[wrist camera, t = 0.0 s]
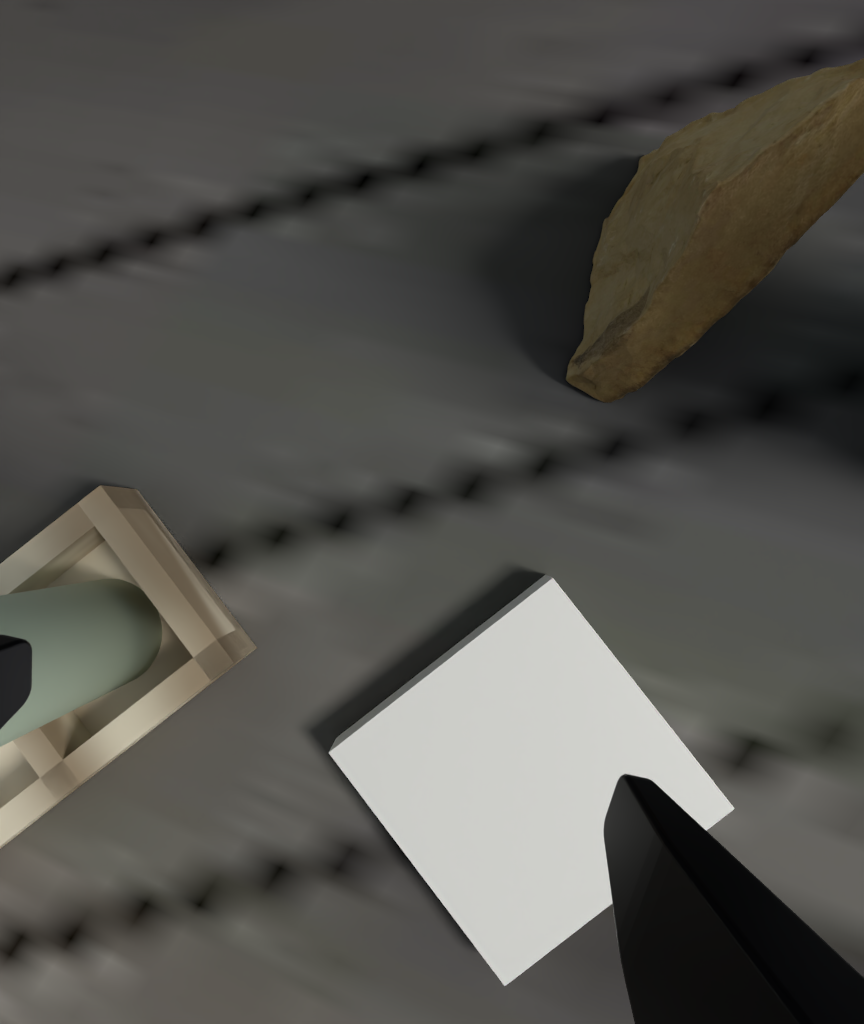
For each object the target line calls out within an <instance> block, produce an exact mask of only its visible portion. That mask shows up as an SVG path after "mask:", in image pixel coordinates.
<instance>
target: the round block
mask: <svg viewBox="0 0 864 1024" xmlns="http://www.w3.org/2000/svg"><path fill="white" fill-rule="evenodd" d="M0 634H1V635H8V636H12V637H17V638H21V639H25V640H27V641H28V642H29V643H30V644H31V647H32V689H31V692H30V695H29V697H28V699H27V701H26V702H25V704H24V705H23V706H22V707H21V708H20V709H19V710H18V711H17V713H16V714H15V715H14V716H13V717H12V718H11V719H10V720H9V721H8V722H7V723H6V724H5V725H4V726H3V727H2V728H1V729H0V747H1V746H3V745H5V744H7V743H9V742H11V741H13V740H15V739H17V738H19V737H21V736H23V735H25V734H27V733H29V732H31V731H33V730H35V729H37V728H39V727H41V726H43V725H45V724H47V723H49V722H51V721H53V720H55V719H57V718H59V717H61V716H63V715H65V714H67V713H69V712H71V711H73V710H75V709H77V708H79V707H81V706H83V705H85V704H87V703H89V702H91V701H93V700H95V699H97V698H99V697H101V696H103V695H105V694H107V693H109V692H111V691H113V690H115V689H117V688H119V687H121V686H123V685H125V684H127V683H129V682H131V681H133V680H135V679H137V678H138V677H140V676H141V675H142V674H143V673H144V672H146V671H147V670H148V668H149V667H150V666H151V665H152V663H153V662H154V660H155V658H156V656H157V654H158V652H159V649H160V646H161V641H162V623H161V618H160V615H159V612H158V610H157V608H156V607H155V606H154V604H153V603H152V602H151V600H150V599H149V598H148V596H147V595H146V594H145V592H144V591H143V590H142V589H140V588H139V587H137V586H136V585H134V584H132V583H130V582H127V581H124V580H119V579H101V580H95V581H88V582H82V583H76V584H70V585H63V586H57V587H51V588H45V589H38V590H32V591H26V592H20V593H13V594H7V595H1V596H0Z"/></svg>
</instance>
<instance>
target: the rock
mask: <svg viewBox="0 0 864 1024" xmlns="http://www.w3.org/2000/svg"><path fill="white" fill-rule="evenodd" d="M863 173H864V58H863V59H861V60H859V61H857V62H854V63H852V64H848V65H844V66H839V67H834V68H823V69H820V70H818V71H816V72H814V73H813V74H811V75H809V76H804V77H798V78H793V79H790V80H787V81H785V82H783V83H781V84H778V85H776V86H775V87H773V88H771V89H769V90H767V91H765V92H764V93H761V94H759V95H756V96H753V97H750V98H748V99H746V100H744V101H743V102H741V103H740V104H738V105H737V106H736V107H735V108H733V109H729V110H727V111H725V112H723V113H710V114H708V115H707V116H705V117H703V118H701V119H699V120H696V121H693V122H691V123H690V124H688V125H687V126H686V127H684V128H683V129H681V130H679V131H678V132H676V133H674V134H672V135H670V136H668V137H667V138H666V139H665V140H664V142H663V143H662V145H661V146H660V148H659V149H658V150H653V151H652V152H651V153H649V154H647V155H645V156H642V157H641V158H640V160H639V167H638V171H637V173H636V175H635V176H634V177H633V179H632V180H631V182H630V184H629V185H628V187H627V188H626V190H625V193H624V195H623V196H622V197H621V198H620V199H619V200H618V202H617V203H616V204H615V206H614V208H613V210H612V212H611V214H610V216H609V217H608V218H605V220H604V222H603V228H602V232H601V237H600V240H599V243H598V246H597V249H596V251H595V253H594V257H593V269H592V272H591V277H590V282H591V286H592V287H591V290H590V294H589V300H588V302H587V303H586V305H585V313H584V337H583V340H582V342H581V344H580V345H579V347H578V348H577V350H576V352H575V354H574V356H573V357H572V358H571V360H570V362H569V365H568V368H567V370H568V371H567V377H566V380H567V382H568V383H570V384H571V385H573V386H575V387H577V388H578V389H580V390H582V391H584V392H586V393H587V394H589V395H590V396H592V397H593V398H595V399H598V400H600V401H602V402H612V401H614V400H618V399H621V398H623V397H624V396H625V394H627V393H629V392H635V391H637V390H638V389H639V388H641V387H643V386H644V385H645V384H646V383H647V382H648V381H649V380H650V379H652V378H653V377H654V376H655V375H656V374H657V373H658V372H659V371H661V370H662V369H663V368H665V367H666V366H667V365H668V364H669V363H670V362H671V361H672V360H673V359H675V358H677V357H679V356H681V355H682V354H683V353H684V352H686V351H687V350H688V349H689V348H690V347H691V346H692V345H694V344H695V343H696V342H697V341H698V340H699V339H700V338H701V337H702V336H703V334H704V333H705V332H706V331H707V330H708V329H709V328H710V327H711V326H712V325H713V324H714V323H715V322H717V321H718V320H719V319H720V318H722V317H724V316H725V315H726V314H727V313H728V312H729V311H730V310H731V309H732V308H733V307H734V306H735V305H736V304H737V303H738V302H739V301H740V300H741V299H742V298H743V297H744V296H746V295H747V294H748V293H749V292H750V291H751V290H752V289H753V288H754V287H756V286H757V285H758V284H759V283H760V282H761V281H762V280H763V279H764V278H765V277H766V276H767V275H768V274H769V273H770V272H771V271H772V270H773V268H774V267H775V266H776V264H777V263H778V261H779V260H780V259H781V257H782V256H783V255H784V253H785V252H786V250H788V249H789V248H790V247H791V246H793V245H794V244H795V243H796V242H797V241H798V240H799V239H800V238H801V237H802V236H803V234H804V233H805V232H806V231H807V230H808V229H809V228H810V227H811V226H812V225H813V224H814V223H815V222H816V221H817V220H818V219H819V218H820V217H821V216H822V215H823V214H824V213H825V212H827V211H828V210H829V209H830V208H831V207H832V206H833V205H834V204H835V203H836V202H837V201H838V200H839V199H840V198H841V196H842V195H843V194H844V193H845V192H846V191H847V190H848V189H849V188H850V187H851V186H852V185H853V184H854V182H855V181H856V180H857V179H858V178H859V177H860V176H861V175H862V174H863Z"/></svg>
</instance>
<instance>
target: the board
mask: <svg viewBox="0 0 864 1024" xmlns="http://www.w3.org/2000/svg"><path fill="white" fill-rule="evenodd" d="M329 754H330V755H331V757H332V758H333V759H334V761H335V762H336V763H337V765H338V766H339V767H340V769H341V770H342V771H343V773H344V774H345V775H346V777H347V778H348V779H349V781H350V782H351V783H352V785H353V786H354V787H355V789H356V790H357V791H358V793H359V794H360V795H361V796H362V798H363V799H364V800H365V802H366V803H367V804H368V806H369V807H370V808H371V810H372V811H373V812H374V814H375V815H376V816H377V818H378V819H379V820H380V822H381V823H382V824H383V826H384V827H385V828H386V830H387V831H388V832H389V834H390V835H391V836H392V838H393V839H394V840H395V841H396V843H397V844H398V845H399V847H400V848H401V849H402V851H403V852H404V853H405V855H406V856H407V857H408V859H409V860H410V861H411V863H412V864H413V865H414V867H415V868H416V869H417V871H418V872H419V873H420V875H421V876H422V877H423V879H424V880H425V881H426V882H427V884H428V885H429V886H430V888H431V889H432V890H433V892H434V893H435V894H436V896H437V897H438V898H439V900H440V901H441V902H442V904H443V905H444V906H445V908H446V909H447V910H448V912H449V913H450V914H451V916H452V917H453V918H454V920H455V921H456V922H457V924H458V925H459V926H460V927H461V929H462V930H463V931H464V933H465V934H466V935H467V937H468V938H469V939H470V941H471V942H472V943H473V945H474V946H475V947H476V949H477V950H478V951H479V953H480V954H481V955H482V957H483V958H484V959H485V961H486V962H487V963H488V965H489V966H490V967H491V969H492V970H493V971H494V972H495V974H496V975H497V976H498V978H499V979H500V980H501V982H502V983H503V984H504V986H506V985H507V984H508V983H510V982H511V981H512V980H514V979H515V978H516V977H517V976H519V975H520V974H521V973H523V972H524V971H525V970H526V969H528V968H529V967H530V966H532V965H533V964H534V963H536V962H537V961H538V960H539V959H541V958H542V957H543V956H545V955H546V954H547V953H548V952H550V951H551V950H552V949H554V948H555V947H556V946H558V945H559V944H560V943H561V942H563V941H564V940H565V939H567V938H568V937H569V936H570V935H572V934H573V933H574V932H576V931H577V930H578V929H580V928H581V927H582V926H583V925H585V924H586V923H587V922H589V921H590V920H591V919H592V918H594V917H595V916H596V915H598V914H599V913H600V912H602V911H603V910H604V909H605V908H607V907H608V906H609V905H611V904H612V895H611V888H610V881H609V873H608V866H607V858H606V851H605V844H604V833H603V829H604V820H605V817H606V813H607V810H608V807H609V804H610V801H611V798H612V795H613V792H614V789H615V786H616V783H617V781H618V779H619V778H620V776H621V775H624V774H630V775H634V776H639V777H643V778H648V779H650V780H652V781H653V782H654V783H656V784H657V785H658V786H659V787H660V788H661V789H662V790H663V791H664V792H665V793H666V794H667V795H668V796H669V797H671V798H672V799H673V800H674V801H675V802H676V803H677V804H678V805H679V806H680V807H681V808H682V809H683V810H684V811H686V812H687V813H688V814H689V815H690V816H691V817H692V818H693V819H694V820H695V821H696V822H697V823H698V824H699V825H701V826H702V827H703V828H704V829H705V830H708V829H709V828H710V827H712V826H713V825H714V824H715V823H717V822H718V821H719V820H721V819H722V818H723V817H724V816H726V815H727V814H728V813H730V812H731V811H732V810H734V809H735V808H734V807H733V806H732V805H731V803H730V802H729V801H728V800H727V798H726V797H725V796H724V795H723V793H722V792H721V791H720V789H719V788H718V787H717V786H716V784H715V783H714V782H713V781H712V779H711V778H710V777H709V775H708V774H707V773H706V772H705V770H704V769H703V768H702V767H701V765H700V764H699V763H698V762H697V760H696V759H695V758H694V756H693V755H692V754H691V753H690V751H689V750H688V749H687V748H686V746H685V745H684V744H683V742H682V741H681V740H680V739H679V737H678V736H677V735H676V734H675V732H674V731H673V730H672V729H671V727H670V726H669V725H668V723H667V722H666V721H665V720H664V718H663V717H662V716H661V715H660V713H659V712H658V711H657V709H656V708H655V707H654V706H653V704H652V703H651V702H650V701H649V699H648V698H647V697H646V696H645V694H644V693H643V692H642V690H641V689H640V688H639V687H638V685H637V684H636V683H635V682H634V680H633V679H632V678H631V676H630V675H629V674H628V673H627V671H626V670H625V669H624V668H623V666H622V665H621V664H620V663H619V661H618V660H617V659H616V657H615V656H614V655H613V654H612V652H611V651H610V650H609V649H608V647H607V646H606V645H605V643H604V642H603V641H602V640H601V638H600V637H599V636H598V635H597V633H596V632H595V631H594V630H593V628H592V627H591V626H590V624H589V623H588V622H587V621H586V619H585V618H584V617H583V616H582V614H581V613H580V612H579V610H578V609H577V608H576V607H575V605H574V604H573V603H572V602H571V600H570V599H569V598H568V597H567V595H566V594H565V593H564V591H563V590H562V589H561V588H560V586H559V585H558V584H557V583H556V581H555V580H554V579H553V578H552V577H550V576H548V575H544V576H543V577H542V578H541V579H539V580H538V581H537V582H535V583H534V584H533V585H532V586H530V587H529V588H528V589H526V590H525V591H524V592H523V593H521V594H520V595H519V596H517V597H516V598H515V599H514V600H512V601H511V602H510V603H508V604H507V605H506V606H505V607H503V608H502V609H501V610H499V611H498V612H497V613H496V614H494V615H493V616H492V617H490V618H489V619H488V620H487V621H485V622H484V623H483V624H482V625H480V626H479V627H478V628H476V629H475V630H474V631H473V632H471V633H470V634H469V635H467V636H466V637H465V638H464V639H462V640H461V641H460V642H458V643H457V644H456V645H455V646H453V647H452V648H451V649H449V650H448V651H447V652H446V653H444V654H443V655H442V656H440V657H439V658H438V659H437V660H435V661H434V662H433V663H431V664H430V665H429V666H428V667H426V668H425V669H424V670H422V671H421V672H420V673H419V674H417V675H416V676H415V677H414V678H412V679H411V680H410V681H408V682H407V683H406V684H405V685H403V686H402V687H401V688H399V689H398V690H397V691H396V692H394V693H393V694H392V695H390V696H389V697H388V698H387V699H385V700H384V701H383V702H381V703H380V704H379V705H378V706H376V707H375V708H374V709H372V710H371V711H370V712H369V713H367V714H366V715H365V716H363V717H362V718H361V719H360V720H358V721H357V722H356V723H354V724H353V725H352V726H351V727H349V728H348V729H347V730H346V731H344V732H343V733H342V734H340V735H339V736H338V737H337V738H336V739H335V741H334V743H333V745H332V747H331V749H330V751H329Z"/></svg>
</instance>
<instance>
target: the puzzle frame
mask: <svg viewBox="0 0 864 1024" xmlns="http://www.w3.org/2000/svg"><path fill="white" fill-rule="evenodd" d="M101 579H119V580H124V581H127V582H130V583H132V584H134V585H136V586H137V587H139V588H140V589H142V590H143V591H144V592H145V594H146V595H147V596H148V598H149V599H150V600H151V602H152V603H153V604H154V606H155V607H156V608H157V610H158V612H159V615H160V618H161V623H162V641H161V646H160V649H159V652H158V654H157V656H156V658H155V660H154V662H153V663H152V665H151V666H150V667H149V668H148V670H147V671H146V672H144V673H143V674H142V675H141V676H140V677H138V678H137V679H135V680H133V681H131V682H129V683H127V684H125V685H123V686H121V687H119V688H117V689H115V690H113V691H111V692H109V693H107V694H105V695H103V696H101V697H99V698H97V699H95V700H93V701H91V702H89V703H87V704H85V705H83V706H81V707H79V708H77V709H75V710H73V711H71V712H69V713H67V714H65V715H63V716H61V717H59V718H57V719H55V720H53V721H51V722H49V723H47V724H45V725H43V726H41V727H39V728H37V729H35V730H33V731H31V732H29V733H27V734H25V735H23V736H21V737H19V738H17V739H15V740H13V741H11V742H9V743H7V744H5V745H3V746H1V747H0V849H1V848H2V847H3V846H5V845H6V844H7V843H8V842H10V841H11V840H12V839H13V838H15V837H16V836H17V835H19V834H20V833H21V832H22V831H24V830H25V829H26V828H28V827H29V826H30V825H31V824H33V823H34V822H35V821H36V820H38V819H39V818H40V817H42V816H43V815H44V814H45V813H47V812H48V811H49V810H51V809H52V808H53V807H54V806H56V805H57V804H58V803H59V802H61V801H62V800H63V799H65V798H66V797H67V796H68V795H70V794H71V793H72V792H74V791H75V790H76V789H77V788H79V787H80V786H81V785H83V784H84V783H85V782H86V781H88V780H89V779H90V778H91V777H93V776H94V775H95V774H97V773H98V772H99V771H100V770H102V769H103V768H104V767H106V766H107V765H108V764H109V763H111V762H112V761H113V760H114V759H116V758H117V757H118V756H120V755H121V754H122V753H123V752H125V751H126V750H127V749H129V748H130V747H131V746H132V745H134V744H135V743H136V742H137V741H139V740H140V739H141V738H143V737H144V736H145V735H146V734H148V733H149V732H150V731H152V730H153V729H154V728H155V727H157V726H158V725H159V724H161V723H162V722H163V721H164V720H166V719H167V718H168V717H169V716H171V715H172V714H173V713H175V712H176V711H177V710H178V709H180V708H181V707H182V706H184V705H185V704H186V703H187V702H189V701H190V700H191V699H192V698H194V697H195V696H196V695H198V694H199V693H200V692H201V691H203V690H204V689H205V688H207V687H208V686H209V685H210V684H212V683H213V682H214V681H215V680H217V679H218V678H219V677H221V676H222V675H223V674H224V673H226V672H227V671H228V670H230V669H231V668H232V667H233V666H235V665H236V664H237V663H239V662H240V661H241V660H242V659H244V658H245V657H246V656H247V655H249V654H250V653H251V652H253V651H254V650H255V649H256V648H257V647H256V646H255V645H254V643H253V642H252V641H251V639H250V638H249V637H248V635H247V634H246V633H245V631H244V630H243V629H242V627H241V626H240V625H239V623H238V622H237V621H236V619H235V618H234V617H233V615H232V614H231V613H230V611H229V610H228V609H227V608H226V606H225V605H224V604H223V602H222V601H221V600H220V598H219V597H218V596H217V594H216V593H215V592H214V590H213V589H212V588H211V586H210V585H209V584H208V582H207V581H206V580H205V578H204V577H203V576H202V574H201V573H200V572H199V570H198V569H197V568H196V567H195V565H194V564H193V563H192V561H191V560H190V559H189V557H188V556H187V555H186V553H185V552H184V551H183V549H182V548H181V547H180V545H179V544H178V543H177V541H176V540H175V539H174V537H173V536H172V535H171V533H170V532H169V531H168V530H167V528H166V527H165V526H164V524H163V523H162V522H161V520H160V519H159V518H158V516H157V515H156V514H155V512H154V511H153V510H152V508H151V507H150V506H149V504H148V503H147V502H146V500H145V499H144V498H143V496H142V495H141V494H140V492H139V491H138V490H137V489H130V488H121V487H112V486H104V485H100V486H98V487H97V488H96V489H95V490H93V491H92V492H91V493H90V494H88V495H87V496H86V497H85V498H83V499H82V500H81V501H79V502H78V503H77V504H76V505H74V506H73V507H72V508H71V509H69V510H68V511H67V512H65V513H64V514H63V515H62V516H60V517H59V518H58V519H57V520H55V521H54V522H53V523H51V524H50V525H49V526H48V527H46V528H45V529H44V530H43V531H41V532H40V533H39V534H37V535H36V536H35V537H34V538H32V539H31V540H30V541H29V542H27V543H26V544H25V545H24V546H22V547H21V548H20V549H18V550H17V551H16V552H15V553H13V554H12V555H11V556H10V557H8V558H7V559H6V560H4V561H3V562H2V563H1V564H0V596H1V595H7V594H13V593H20V592H26V591H32V590H38V589H45V588H51V587H57V586H63V585H70V584H76V583H82V582H88V581H95V580H101Z"/></svg>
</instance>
